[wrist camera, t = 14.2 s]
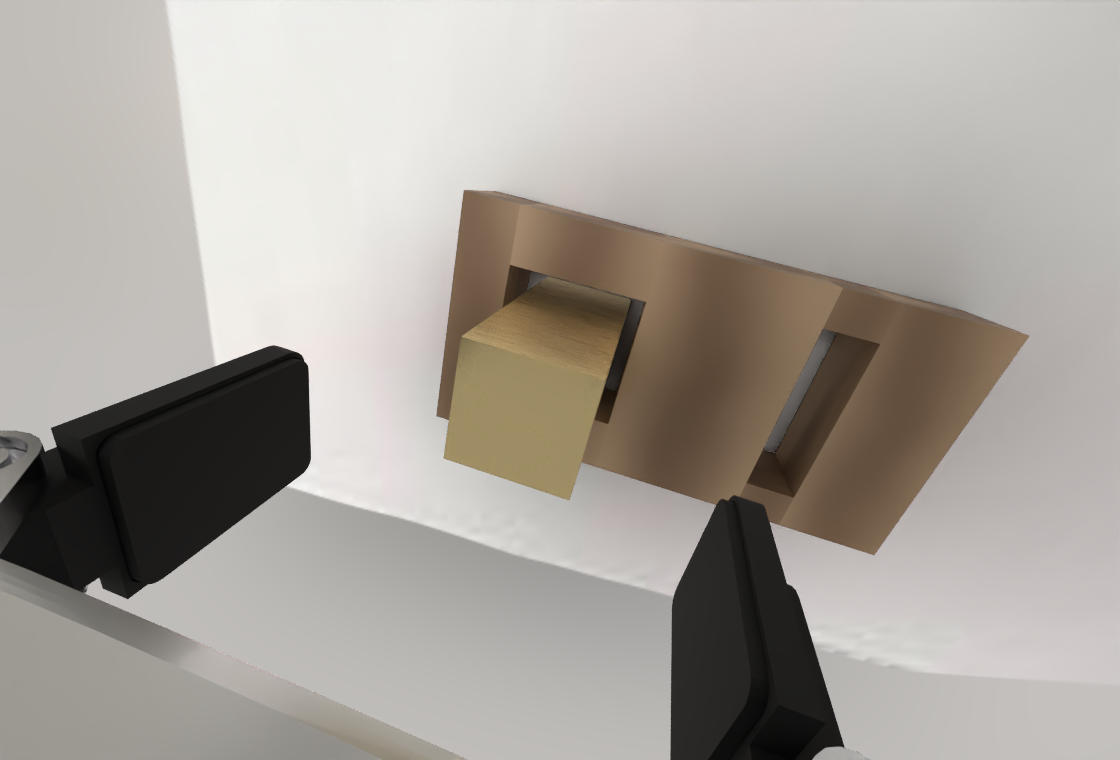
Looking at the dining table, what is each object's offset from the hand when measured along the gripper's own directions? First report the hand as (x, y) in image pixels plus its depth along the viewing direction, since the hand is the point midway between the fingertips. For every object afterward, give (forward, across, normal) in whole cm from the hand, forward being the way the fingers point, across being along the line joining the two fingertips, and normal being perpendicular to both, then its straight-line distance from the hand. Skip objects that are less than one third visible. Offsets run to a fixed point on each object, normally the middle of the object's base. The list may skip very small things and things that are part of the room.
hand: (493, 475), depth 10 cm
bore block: (+13, -4, 0) cm, 14 cm away
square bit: (+13, +1, 0) cm, 13 cm away
